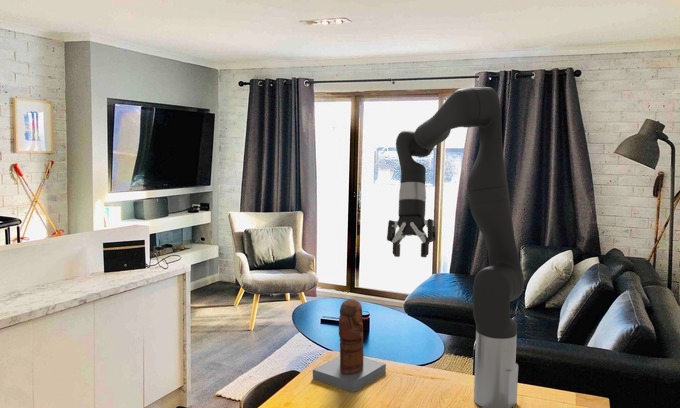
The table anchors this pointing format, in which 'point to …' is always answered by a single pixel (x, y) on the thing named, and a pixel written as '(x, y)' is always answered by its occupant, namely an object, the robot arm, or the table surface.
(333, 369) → the base
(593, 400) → the table surface
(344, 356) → the wooden figurine
